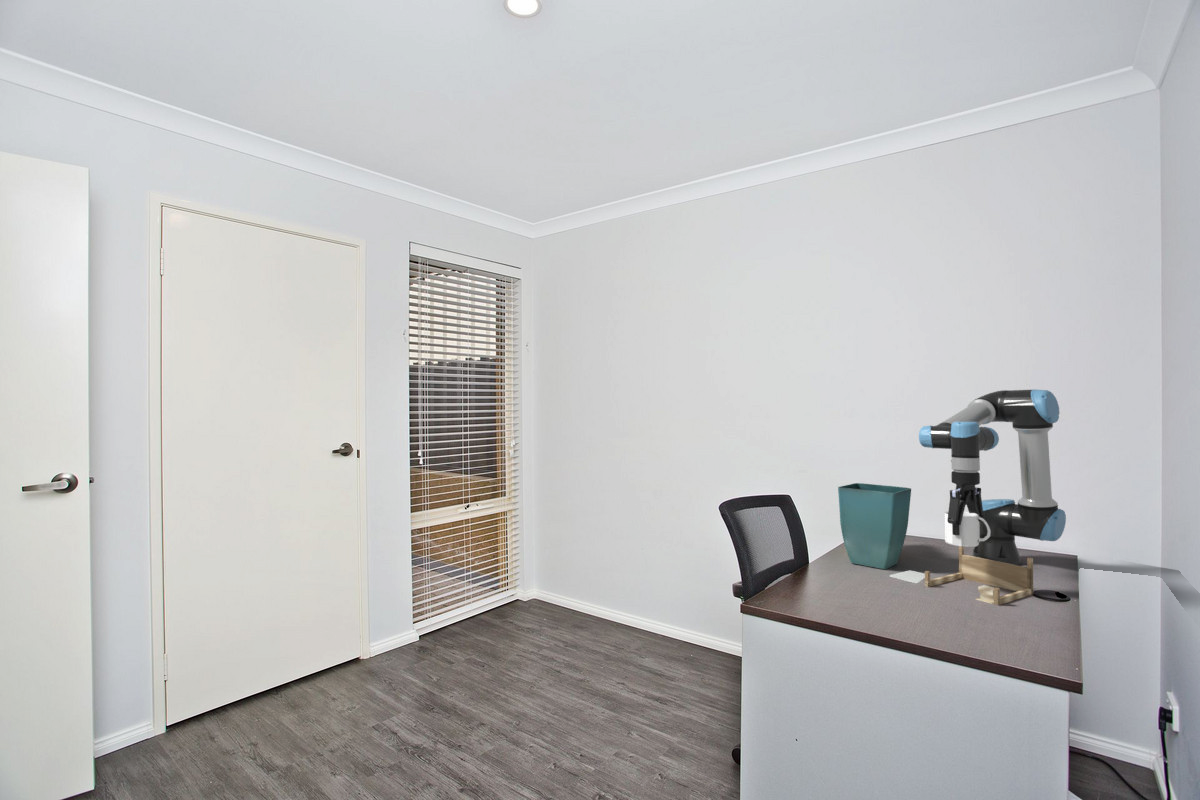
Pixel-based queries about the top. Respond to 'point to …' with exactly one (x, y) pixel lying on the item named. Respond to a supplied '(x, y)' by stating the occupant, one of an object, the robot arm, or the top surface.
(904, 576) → the felt mat
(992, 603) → the offcut
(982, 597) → the offcut
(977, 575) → the frame
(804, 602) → the top surface
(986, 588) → the offcut
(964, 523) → the mug
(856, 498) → the flower pot
